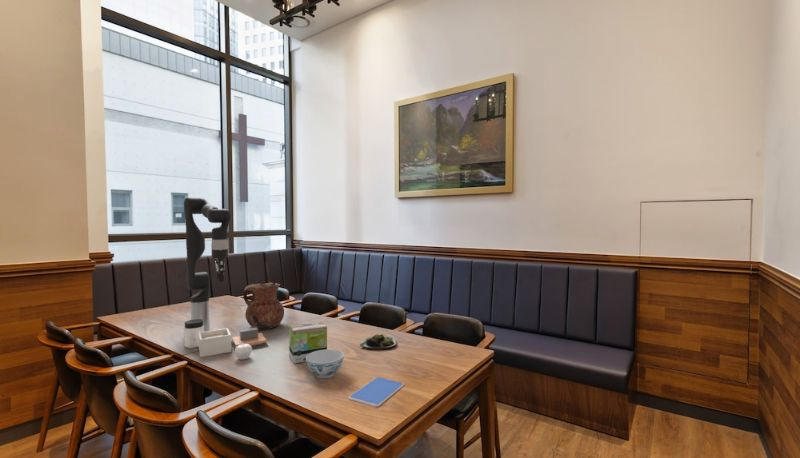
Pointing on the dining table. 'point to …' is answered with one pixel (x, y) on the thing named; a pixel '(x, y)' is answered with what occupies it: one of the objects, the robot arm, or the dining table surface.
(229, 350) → the storage box
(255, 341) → the lid
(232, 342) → the mat
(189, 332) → the jar
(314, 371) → the chinaware
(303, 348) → the tea box
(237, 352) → the plain white apple
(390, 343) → the salad plate
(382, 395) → the tablet computer
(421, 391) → the dining table surface
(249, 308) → the jug
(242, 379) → the dining table surface
